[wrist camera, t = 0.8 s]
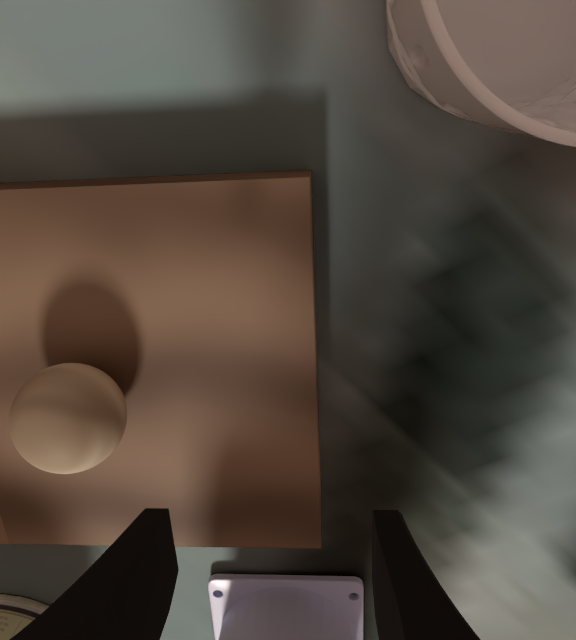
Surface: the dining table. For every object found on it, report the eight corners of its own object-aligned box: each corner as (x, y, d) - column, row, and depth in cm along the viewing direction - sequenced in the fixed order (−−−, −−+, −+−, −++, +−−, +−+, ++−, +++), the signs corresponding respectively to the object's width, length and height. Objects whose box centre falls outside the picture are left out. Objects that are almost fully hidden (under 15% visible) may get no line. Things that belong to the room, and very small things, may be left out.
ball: (148, 433, 22) (111, 498, 18) (55, 433, 22) (0, 498, 18) (133, 344, 20) (90, 396, 17) (34, 346, 21) (-30, 397, 17)
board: (321, 509, 26) (321, 548, 23) (-102, 505, 27) (-142, 541, 25) (311, 170, 20) (309, 177, 18) (-223, 192, 22) (-289, 201, 19)
